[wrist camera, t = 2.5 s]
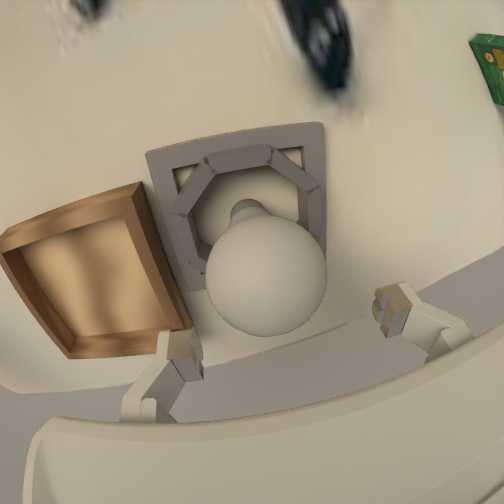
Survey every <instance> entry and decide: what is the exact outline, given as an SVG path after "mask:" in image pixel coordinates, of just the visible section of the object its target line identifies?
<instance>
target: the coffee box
mask: <svg viewBox="0 0 504 504" xmlns="http://www.w3.org/2000/svg"><path fill="white" fill-rule="evenodd" d="M469 42H470V45H471V46H472V48H473V51H474V54H475V56H476V58H477V60H478V61H479V64H480V66H481V68H482V71H483V73H484V75H485V78H486V80H487V83H488V87H489V90H490V92H491V94H492V97H493V100H494V102H495V103H497V104H500V105H503V106H504V36H499V35H492V34H475V35H474V36H473V37H472V38H471V39H470V41H469Z"/></svg>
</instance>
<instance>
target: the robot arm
mask: <svg viewBox="0 0 504 504" xmlns="http://www.w3.org/2000/svg"><path fill="white" fill-rule="evenodd" d="M375 297H376V299H375V300H374V301H373V304H372V312H373V315H374V318H375V320H376V321H377V322H379V323H381V327H380V329H381V330H382V332H383V334H384V336H385V337H386V338H389V337H392V336H396V335H399V334H402V335H403V336H404V337H405V338H407V339H409V340H410V341H411V342H413V343H414V344H416V345H417V346H419V347H420V348H421V349H423V350H424V351H426V352H427V353H428V354H429V355H428V356H427V358H426V360H425V362H424V365H422V366H420V367H417V368H415V369H413V370H410V371H408V372H406V373H403V374H401V375H399V376H396V377H393V378H391V379H389V380H386V381H383V382H380V383H378V384H375V385H372V386H370V387H367V388H363V389H360V390H358V391H354V392H351V393H348V394H345V395H342V396H338V397H335V398H331V399H328V400H324V401H320V402H316V403H312V404H308V405H304V406H300V407H296V408H291V409H286V410H281V411H276V412H271V413H265V414H260V415H253V416H247V417H240V418H232V419H224V420H214V421H203V422H189V423H178V422H177V421H176V420H175V419H174V418H173V417H172V416H171V415H170V414H169V413H168V412H169V411H170V409H171V407H172V405H173V404H174V402H175V400H176V399H177V397H178V395H179V393H180V392H181V390H182V388H183V387H184V385H185V382H190V381H197V380H203V379H204V378H203V376H204V375H203V365H202V363H201V361H202V360H203V350H202V345H201V342H200V340H199V338H197V337H196V331H195V329H194V327H190V328H181V329H172V330H164V331H160V332H159V335H158V342H157V350H156V358H155V361H152V362H151V363H150V365H149V366H148V367H147V368H146V370H145V371H144V372H143V373H142V374H141V376H140V377H139V378H138V379H137V381H136V382H135V383H134V384H133V386H132V387H131V388H130V389H129V391H128V392H127V393H126V394H125V395H124V397H123V399H122V406H121V413H120V421H119V423H117V422H103V421H93V420H84V419H76V418H69V417H62V416H54V417H52V418H51V419H50V420H48V421H47V422H46V423H45V424H44V425H43V426H42V427H41V428H40V430H39V431H38V432H37V433H36V434H35V436H34V437H33V440H32V442H31V445H30V448H29V453H28V458H27V463H26V469H25V478H24V486H23V504H504V320H503V321H501V322H500V323H498V324H497V325H495V326H494V327H492V328H490V329H489V330H487V331H486V332H484V333H483V334H481V335H479V336H477V337H476V338H475V337H474V336H473V334H472V333H471V332H470V330H469V329H468V328H467V326H466V325H465V323H464V322H463V321H462V320H460V319H458V318H456V317H454V316H452V315H450V314H448V313H446V312H444V311H442V310H440V309H438V308H436V307H434V306H432V305H430V304H428V303H425V302H424V303H422V302H421V300H420V299H419V298H418V296H417V295H416V294H415V292H414V291H413V290H412V289H411V287H410V286H409V285H408V283H407V282H405V281H402V282H398V283H395V284H391V285H388V286H384V287H381V288H377V289H376V291H375Z"/></svg>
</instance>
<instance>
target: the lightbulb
mask: <svg viewBox="0 0 504 504" xmlns="http://www.w3.org/2000/svg"><path fill="white" fill-rule="evenodd" d="M230 220H231V221H230V223H229V226H228V230H227V231H226V232H224V233H223V234H222V235H221V237H220V238H219V239H218V240H217V241H216V243H215V245H214V246H213V248H212V250H211V253H210V255H209V258H208V262H207V265H206V287H207V291H208V294H209V297H210V300H211V302H212V304H213V306H214V308H215V309H216V311H217V312H218V314H219V315H220V316H221V317H222V318H223V319H224V320H225V321H226V322H227V323H229V324H230V325H231V326H233V327H234V328H236V329H238V330H240V331H242V332H245V333H247V334H250V335H254V336H261V337H270V336H277V335H282V334H285V333H288V332H290V331H293V330H295V329H297V328H298V327H300V326H301V325H303V324H304V323H305V322H307V321H308V320H309V319H310V318H311V316H312V315H313V314H314V313H315V311H316V310H317V308H318V307H319V305H320V303H321V301H322V298H323V295H324V293H325V290H326V284H327V269H326V262H325V258H324V255H323V253H322V250H321V248H320V246H319V245H318V243H317V242H316V240H315V239H314V238H313V236H312V235H311V234H310V233H309V232H308V231H306V230H305V229H304V228H303V227H301V226H300V225H298V224H297V223H295V222H293V221H291V220H289V219H286V218H282V217H278V216H272V215H271V214H270V213H269V212H268V211H266V210H265V209H264V207H263V206H262V205H261V204H260V203H259V202H258V201H256V200H253V199H244V200H241V201H239V202H238V203H237V204H235V205H234V207H233V208H232V211H231V218H230Z"/></svg>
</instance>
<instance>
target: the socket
mask: <svg viewBox="0 0 504 504" xmlns="http://www.w3.org/2000/svg"><path fill="white" fill-rule="evenodd" d="M297 146H300V149H301V161H302V168H301V167H299V166H298V165H297V164H295V163H294V162H293V161H292V160H290V159H289V158H288V157H286V156H285V155H284V154H282V153H281V152H280V151H278V150H277V149H281V148H289V147H297ZM145 156H146V160H147V164H148V167H149V171H150V175H151V178H152V182H153V185H154V189H155V192H156V195H157V199H158V202H159V205H160V209H161V212H162V215H163V218H164V222H165V225H166V228H167V231H168V234H169V237H170V240H171V243H172V246H173V249H174V252H175V255H176V258H177V261H178V263H179V266H180V269H181V272H182V275H183V277H184V280H185V283H186V286H187V288H188V291H189V292H190V291H196V290H201V289H207V287H206V265H207V262H208V258H209V255H210V253H211V250H212V248H213V247H212V246H211V245H209V244H207V243H205V242H203V241H201V240H199V237H198V234H197V230H196V226H195V223H194V219H193V215H192V211H191V209H192V207H193V206H194V204H195V203H196V201H197V200H198V198H199V197H200V195H201V194H202V192H203V191H204V189H205V188H206V187H207V185H208V184H209V182H210V181H211V179H212V178H213V177H214V175H215V174H219V173H224V172H229V171H235V170H240V169H246V168H252V167H258V166H264V165H270V166H271V167H273V168H274V169H275V170H277V171H278V172H280V173H281V174H282V175H284V176H285V177H286V178H288V179H289V180H290V181H292V182H293V183H294V184H296V185H297V195H298V210H299V221H298V222H297V224H298V225H300V226H301V227H303V228H304V229H305V230H306V231H308V232H309V233H310V234H311V235H312V236H313V238H314V239H315V240H316V242H317V243H318V245H319V246H320V248H321V250H322V253H323V255H324V258H325V262H326V182H325V156H324V138H323V123H321V122H308V123H297V124H287V125H278V126H270V127H262V128H255V129H249V130H242V131H236V132H231V133H225V134H220V135H214V136H209V137H204V138H200V139H195V140H190V141H186V142H182V143H178V144H173V145H169V146H165V147H162V148H158V149H154V150H150V151H147V152H146V153H145ZM196 163H198V164H197V165H196V166H195V168H194V169H193V171H192V172H191V174H190V175H189V177H188V178H187V180H186V181H185V183H184V185H183V186H182V188H181V189H180V191H179V188H178V184H177V180H176V176H175V172H174V168H178V167H183V166H187V165H191V164H196Z"/></svg>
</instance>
